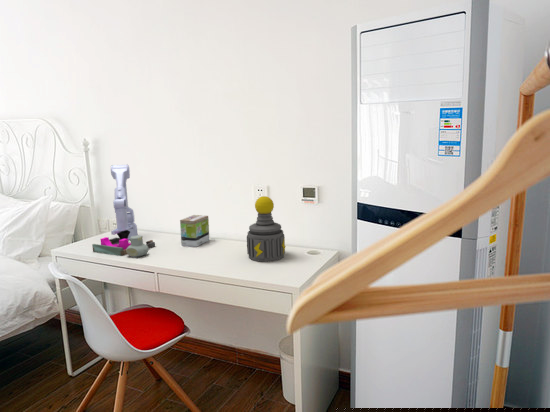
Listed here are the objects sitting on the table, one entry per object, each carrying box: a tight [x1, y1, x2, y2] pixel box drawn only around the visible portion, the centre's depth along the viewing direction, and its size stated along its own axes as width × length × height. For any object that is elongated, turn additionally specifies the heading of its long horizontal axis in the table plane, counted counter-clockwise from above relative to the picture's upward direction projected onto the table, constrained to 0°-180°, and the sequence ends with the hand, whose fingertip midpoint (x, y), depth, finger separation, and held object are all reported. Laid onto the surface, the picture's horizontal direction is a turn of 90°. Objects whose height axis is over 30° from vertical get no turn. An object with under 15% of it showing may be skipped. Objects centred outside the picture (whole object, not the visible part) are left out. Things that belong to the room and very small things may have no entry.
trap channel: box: [91, 237, 156, 257], centre depth 234 cm, size 23×29×4 cm
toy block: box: [100, 236, 131, 250], centre depth 228 cm, size 15×6×8 cm, turn 69°
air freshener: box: [126, 234, 150, 258], centre depth 219 cm, size 11×8×10 cm
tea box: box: [179, 214, 210, 248], centre depth 238 cm, size 15×10×15 cm
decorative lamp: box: [246, 195, 286, 263], centre depth 208 cm, size 19×19×30 cm
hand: (124, 244), depth 235 cm, fingers closed
